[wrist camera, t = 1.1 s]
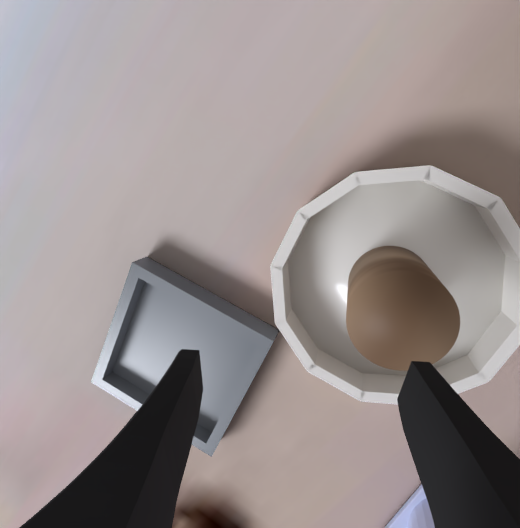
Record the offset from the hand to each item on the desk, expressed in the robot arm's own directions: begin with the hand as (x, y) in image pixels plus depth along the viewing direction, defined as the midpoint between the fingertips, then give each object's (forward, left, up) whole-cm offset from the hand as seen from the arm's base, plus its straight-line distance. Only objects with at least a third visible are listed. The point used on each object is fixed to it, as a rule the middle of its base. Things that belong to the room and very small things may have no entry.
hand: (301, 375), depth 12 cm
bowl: (-3, -2, -11) cm, 12 cm away
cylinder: (-3, -2, -11) cm, 12 cm away
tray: (+7, +10, -11) cm, 17 cm away
